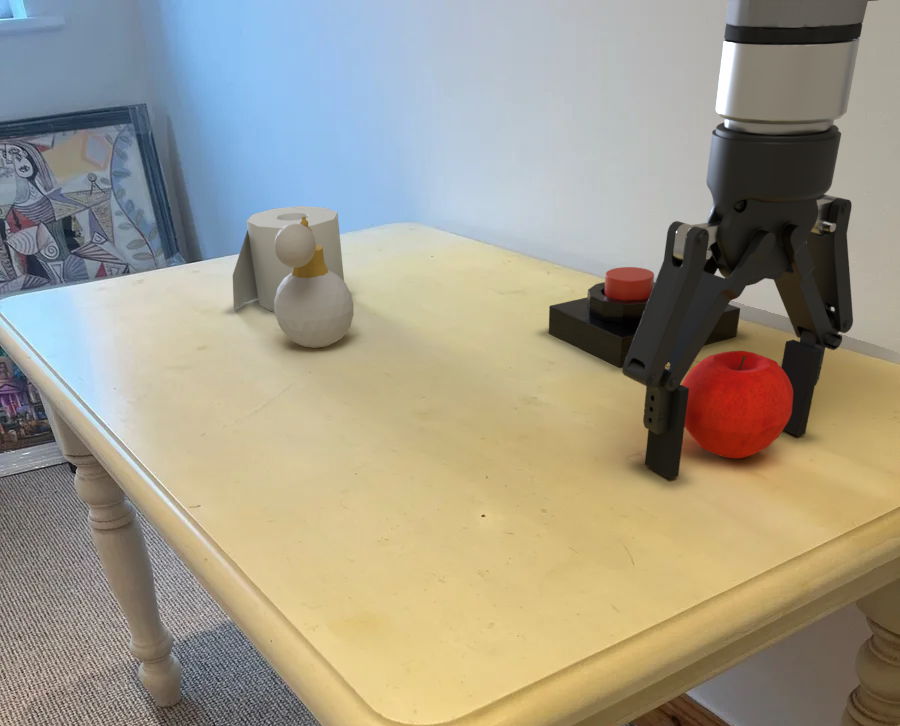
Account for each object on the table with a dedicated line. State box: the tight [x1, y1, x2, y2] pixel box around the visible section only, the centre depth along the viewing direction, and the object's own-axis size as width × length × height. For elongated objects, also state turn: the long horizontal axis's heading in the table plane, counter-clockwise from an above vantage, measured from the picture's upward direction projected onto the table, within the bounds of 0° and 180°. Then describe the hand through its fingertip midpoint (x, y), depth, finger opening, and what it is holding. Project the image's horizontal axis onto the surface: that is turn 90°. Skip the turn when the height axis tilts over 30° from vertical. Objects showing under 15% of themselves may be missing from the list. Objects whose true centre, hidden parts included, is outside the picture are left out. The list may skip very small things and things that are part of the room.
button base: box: [548, 281, 741, 368], centre depth 88 cm, size 14×11×4 cm
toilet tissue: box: [232, 205, 345, 312], centre depth 99 cm, size 9×13×9 cm
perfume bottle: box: [273, 216, 354, 349], centre depth 86 cm, size 8×10×12 cm
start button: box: [604, 266, 655, 300], centre depth 86 cm, size 4×4×2 cm
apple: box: [681, 350, 793, 459], centre depth 67 cm, size 8×8×7 cm
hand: (726, 449), depth 69 cm, fingers open, 12 cm apart
